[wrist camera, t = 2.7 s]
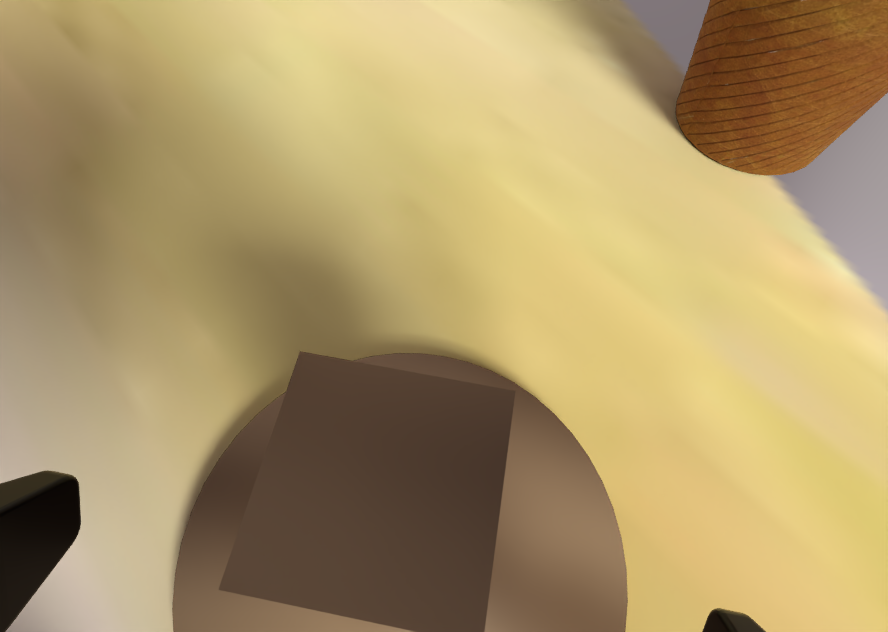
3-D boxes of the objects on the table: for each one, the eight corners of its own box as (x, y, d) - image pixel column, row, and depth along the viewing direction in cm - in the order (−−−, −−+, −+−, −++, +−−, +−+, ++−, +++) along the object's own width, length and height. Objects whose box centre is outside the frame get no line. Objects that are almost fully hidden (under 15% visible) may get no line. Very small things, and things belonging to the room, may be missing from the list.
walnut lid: (609, 899, 12) (1064, 1584, 4) (102, 778, 13) (-549, 1103, 4) (623, 399, 18) (811, 193, 9) (270, 334, 19) (135, 87, 10)
